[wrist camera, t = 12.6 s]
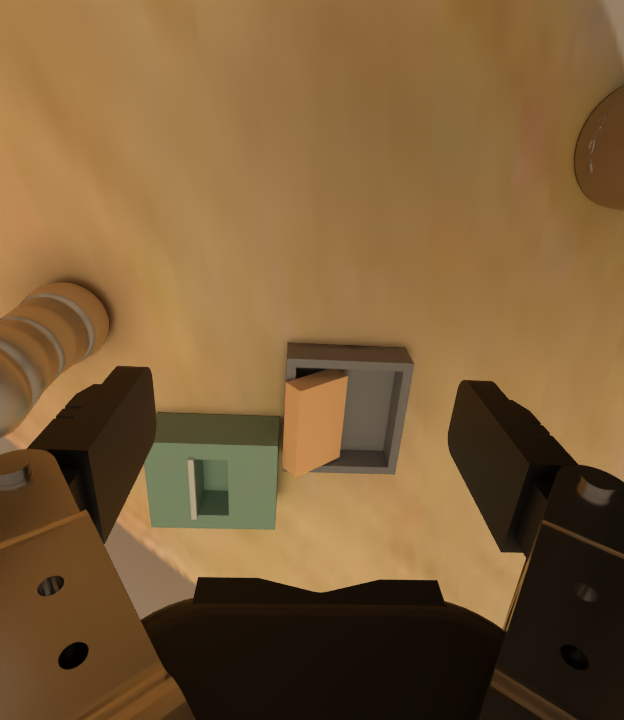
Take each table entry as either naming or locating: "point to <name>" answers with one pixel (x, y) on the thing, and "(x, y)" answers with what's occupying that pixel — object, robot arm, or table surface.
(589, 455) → the table surface
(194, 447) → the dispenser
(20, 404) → the plastic bottle
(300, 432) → the tan wooden plank
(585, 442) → the table surface
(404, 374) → the tray
